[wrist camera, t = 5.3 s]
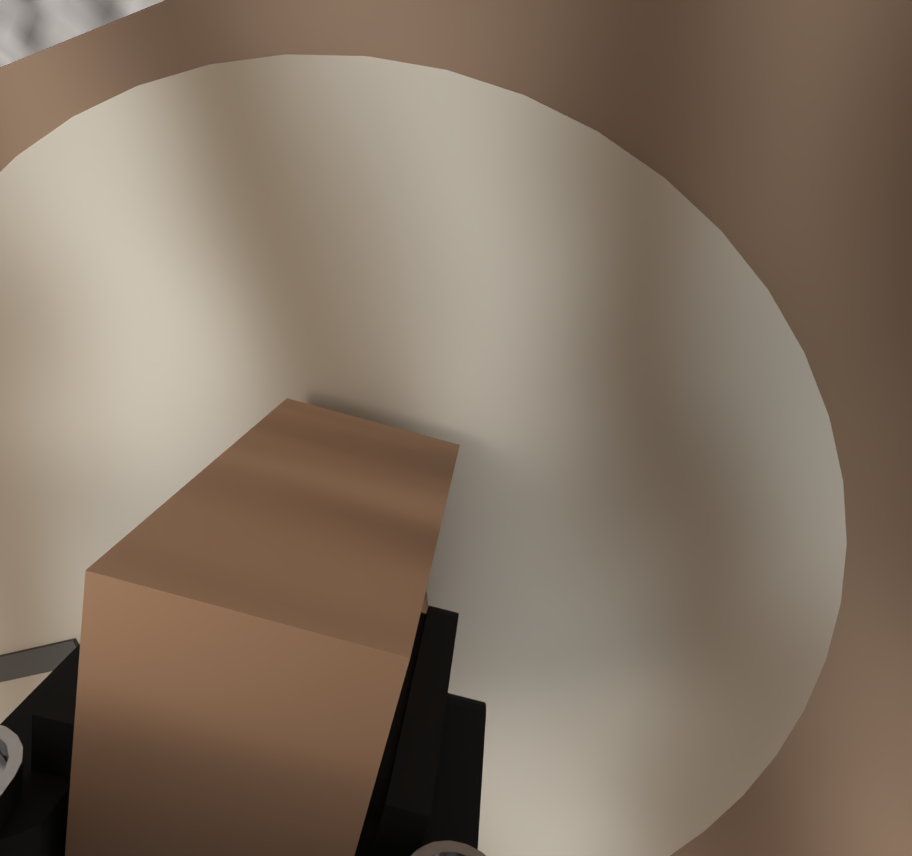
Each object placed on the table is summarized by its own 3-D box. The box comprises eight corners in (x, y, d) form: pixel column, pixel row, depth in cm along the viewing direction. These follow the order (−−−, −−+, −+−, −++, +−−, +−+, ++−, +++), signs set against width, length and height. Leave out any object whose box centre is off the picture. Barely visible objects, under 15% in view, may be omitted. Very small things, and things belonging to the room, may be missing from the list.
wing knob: (279, 385, 12) (53, 562, 6) (478, 439, 12) (442, 666, 6) (196, 875, 16) (16, 1255, 10) (342, 915, 16) (245, 1315, 10)
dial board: (882, -242, 10) (961, -336, 8) (974, 822, 16) (1029, 896, 14) (-340, 240, 14) (-460, 246, 12) (102, 938, 20) (63, 1007, 18)
